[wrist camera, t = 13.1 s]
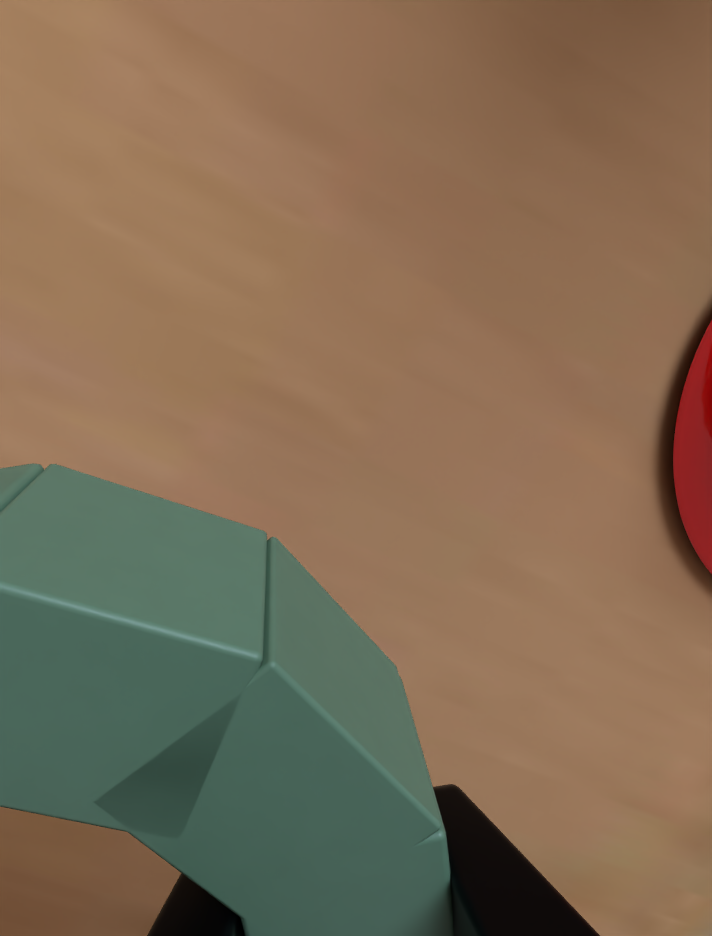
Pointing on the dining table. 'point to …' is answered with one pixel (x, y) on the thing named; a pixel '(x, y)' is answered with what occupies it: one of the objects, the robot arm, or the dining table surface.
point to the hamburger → (696, 452)
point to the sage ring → (211, 711)
